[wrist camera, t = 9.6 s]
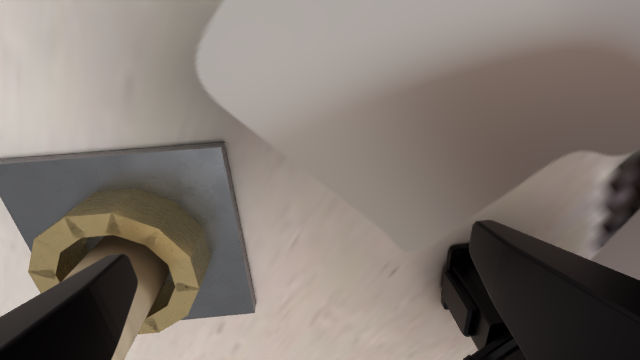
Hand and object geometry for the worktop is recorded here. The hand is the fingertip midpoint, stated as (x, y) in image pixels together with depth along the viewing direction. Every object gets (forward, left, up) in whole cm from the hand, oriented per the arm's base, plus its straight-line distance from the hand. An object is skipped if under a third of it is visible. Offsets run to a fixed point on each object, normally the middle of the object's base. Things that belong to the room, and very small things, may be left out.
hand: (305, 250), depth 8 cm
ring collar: (+12, +8, -13) cm, 19 cm away
